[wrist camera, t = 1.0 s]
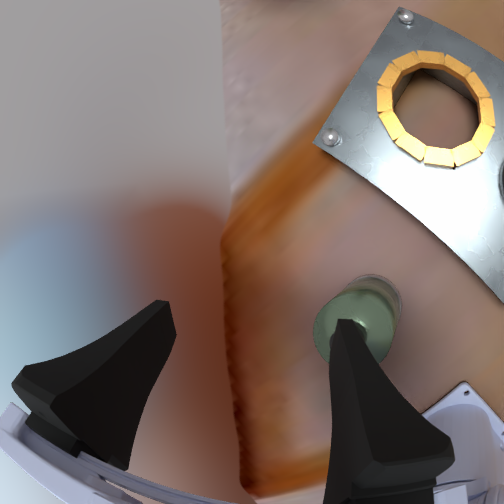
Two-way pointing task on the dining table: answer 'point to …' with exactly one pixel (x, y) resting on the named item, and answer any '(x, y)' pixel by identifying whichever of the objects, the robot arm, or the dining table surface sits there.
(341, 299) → the green cylinder
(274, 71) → the dining table surface
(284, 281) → the dining table surface
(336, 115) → the grey metal base plate
